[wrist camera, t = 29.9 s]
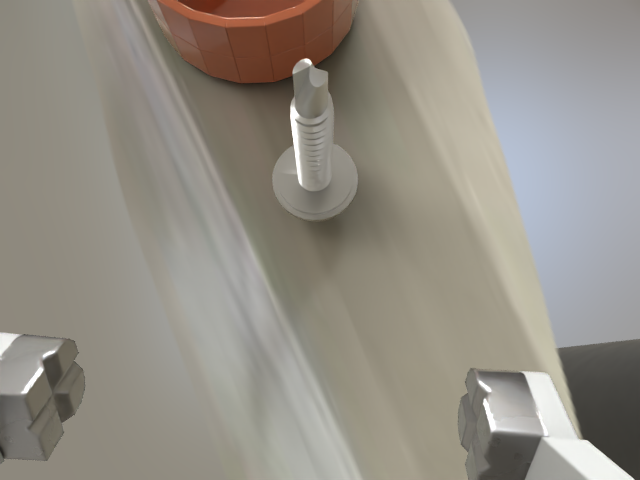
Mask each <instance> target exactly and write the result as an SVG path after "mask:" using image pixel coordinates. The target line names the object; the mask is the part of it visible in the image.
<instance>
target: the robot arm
mask: <svg viewBox="0 0 640 480" xmlns="http://www.w3.org/2000/svg"><path fill="white" fill-rule="evenodd" d="M78 353H79V352H78V350H77V346H76V343H75V341H73V340H71V339H66V338H56V337H46V336H36V335H25V334H24V335H20V334H10V333H1V332H0V464H1V463H2V462H4V459H22V460H42V461H47V460H48V459H49V457H50V455H51V453H52V452H53V450H54V448H55V447H56V445H57V443H58V442H59V440H60V438H61V437H62V435H63V433H64V431H63V426H62V422H64V421H66V420H67V419H69V418H70V417H72V416H73V415H75V413H76V411H77V409H78V408H79V406H80V404H81V402H82V398H83V394H84V391H85V376H84V372H83V369H82V368H81V367H80V366H79V365H78V364H77V363H76V362H75V361H74V360H75V358H76V357H77V355H78ZM465 384H466V388H467V392H468V393H467V394H465V395H464V396H463V397H461V400H460V405H459V409H458V431H459V437H460V442H461V445H462V446H463V447H464V448H465V449H466V450H467V452H468V455H467V459H466V463H465V466H466V471H467V476H468V480H634V479H633V478H632V477H631V476H630V475H628V474H627V473H626V472H625V471H623V470H622V469H621V468H620V467H619V466H617V465H616V464H615V463H614V462H613V461H611V460H610V459H609V458H608V457H607V456H605V455H604V454H603V453H602V452H601V451H599V450H598V449H597V448H596V447H594V446H593V445H592V444H591V443H590V442H588V441H587V440H579V438H578V436H577V434H576V431H575V429H574V427H573V425H572V423H571V421H570V418H569V416H568V414H567V412H566V410H565V407H564V405H563V403H562V401H561V399H560V396H559V394H558V392H557V390H556V388H555V386H554V383H553V381H552V379H551V377H550V376H549V375H548V374H547V373H543V372H526V371H521V372H519V371H507V370H492V369H476V368H470V370H469V372H468V373H467V377H466V381H465Z"/></svg>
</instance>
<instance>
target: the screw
mask: <svg viewBox="0 0 640 480" xmlns="http://www.w3.org/2000/svg"><path fill="white" fill-rule="evenodd" d="M293 83H294V93H295V97H294V98H293V99H292V102H291V106H290V109H291V111H290V118H291V125H292V132H293V141H294V145H293V146H291V147H290V148H288V149H287V150H286V151H285V152H284V153H283V154H282V155H281V156H280V157H279V159H278V161H277V162H276V164H275V167H274V170H273V176H272V183H273V190H274V193H275V196H276V198H277V200H278V201H279V203H280V205H281V206H282V207H283V208H284V209H285V210H286V211H287V212H288V213H290V214H291V215H293V216H295V217H297V218H300V219H302V220H306V221H324V220H328V219H331V218H333V217H335V216H337V215H339V214H341V213H342V212H343V211H344V210H345V209H346V208H347V207H348V206H349V205H350V203H351V202H352V201H353V199H354V196H355V194H356V191H357V186H358V173H357V169H356V165H355V163H354V162H353V160H352V158H351V157H350V155H349V154H348V153H347V152H346V151H345V150H344V149H342V148H341V147H340V146H338V145H336V144H334V143H333V133H334V106H333V102H332V97H331V95H330V93H329V92H328V72H327V71H324V70H320V69H317V68H315V67H314V65H313V64H312V62H311V61H310V60H309V59H302V60H300V61H299V62H298V63H296V65H295V66H294V69H293Z"/></svg>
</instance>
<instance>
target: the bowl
mask: <svg viewBox="0 0 640 480" xmlns="http://www.w3.org/2000/svg"><path fill="white" fill-rule="evenodd" d="M148 2H149V4H150V6H151V8H152V11H153V13H154V15H155V17H156V19H157V21H158V23H159V25H160V28H161V30H162V32H163V34H164V36H165V38H166V39H167V40H168V41H169V43H170V44H171V45H172V46H173V48H174V49H175V50H176V51H177V52H178V54H179V55H180V56H181V57H182V58H183V59H184V60H185V61H187V62H188V63H190V64H192V65H193V66H195V67H197V68H198V69H200V70H202V71H203V72H205V73H206V74H208V75H210V76H213V77H217V78H221V79H225V80H229V81H233V82H237V83H263V82H274V81H275V82H276V81H279V80H282V79H285V78H288V77H291V76H293V69H294V66H295V65H296V63H298V62H299V61H300V60H302V59H309V60H310V61H311V62H312V64H313V65H314V66H315V65H316V64H318V63H319V62H321V61H322V60H324V59H325V58H326V57H328V56H329V55H331V54H332V53H333V52H334V50H335V49H336V48H337V46H338V45H339V44H340V42H341V41H342V40H343V38H344V37H345V36H346V34H347V33H348V32H349V30H350V28H351V25H352V21H353V18H354V15H355V12H356V8H357V5H358V0H148Z"/></svg>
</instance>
